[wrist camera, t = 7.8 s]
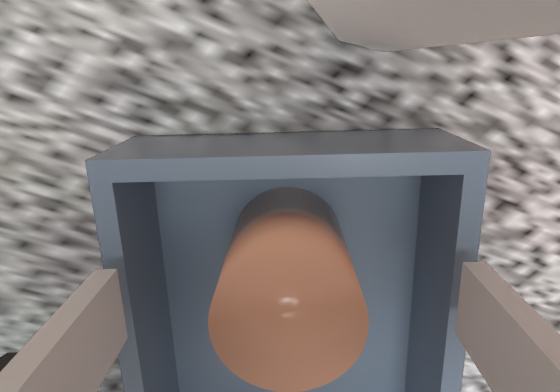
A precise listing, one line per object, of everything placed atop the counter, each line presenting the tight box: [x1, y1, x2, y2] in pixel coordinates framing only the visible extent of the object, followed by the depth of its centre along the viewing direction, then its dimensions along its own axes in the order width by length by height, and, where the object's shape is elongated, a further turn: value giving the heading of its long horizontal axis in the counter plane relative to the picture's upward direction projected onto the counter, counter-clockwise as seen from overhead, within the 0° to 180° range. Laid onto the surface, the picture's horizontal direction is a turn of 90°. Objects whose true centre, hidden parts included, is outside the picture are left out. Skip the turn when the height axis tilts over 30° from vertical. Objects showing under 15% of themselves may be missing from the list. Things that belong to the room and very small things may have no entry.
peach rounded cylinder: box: [208, 187, 369, 392], centre depth 16 cm, size 5×5×7 cm
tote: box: [85, 128, 491, 392], centre depth 19 cm, size 14×18×5 cm
